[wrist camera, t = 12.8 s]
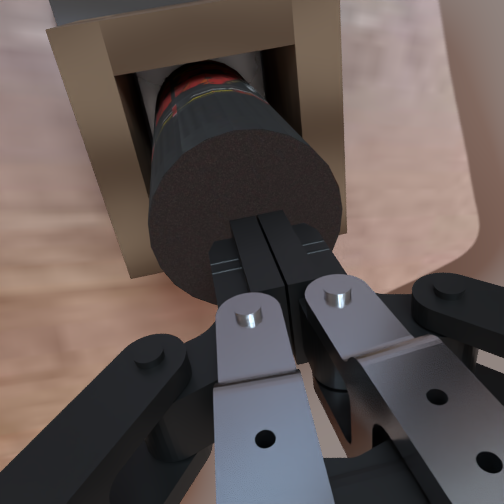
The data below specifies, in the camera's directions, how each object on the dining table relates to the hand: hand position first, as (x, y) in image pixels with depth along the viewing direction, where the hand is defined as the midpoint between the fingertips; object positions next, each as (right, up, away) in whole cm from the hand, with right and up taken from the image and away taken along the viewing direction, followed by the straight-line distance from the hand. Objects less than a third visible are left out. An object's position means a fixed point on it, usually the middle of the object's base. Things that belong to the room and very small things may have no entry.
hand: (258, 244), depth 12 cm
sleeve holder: (-3, +9, +15) cm, 18 cm away
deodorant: (-3, +8, +14) cm, 16 cm away
